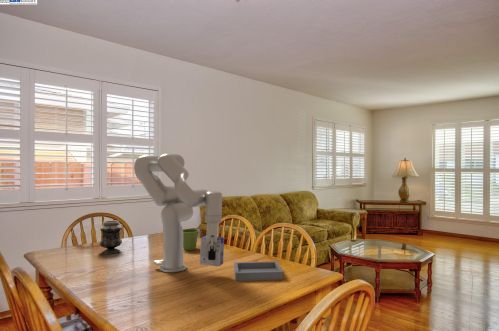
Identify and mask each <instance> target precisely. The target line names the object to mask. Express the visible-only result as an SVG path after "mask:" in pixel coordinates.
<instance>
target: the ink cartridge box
mask: <svg viewBox="0 0 499 331" xmlns="http://www.w3.org/2000/svg"><path fill="white" fill-rule="evenodd" d="M214 243H215V241H214ZM214 243H213V244H214ZM210 244H211V243H210ZM224 246H225V237H221V236H218V239H217V244H216V245H215V251H216V254H215V260H208V251H209V244H206V235H205V236H202V237H201V238H200V250H199V251H200V252H199V265H202V266H211V267H212V266H213V267H221V266H222V265H224V253H225V252H224V249H225V248H224Z"/></svg>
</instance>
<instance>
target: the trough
mask: <svg viewBox="0 0 499 331" xmlns="http://www.w3.org/2000/svg"><path fill="white" fill-rule="evenodd" d="M233 271H234V272H233V273H234V281H235V282H247V281H249V282H251V281H278V280H284V271H283V269H282V267H281V265H280V263H279V262H278V260H277V261H273V260H272V261H239V262H238V261H236V262H235V261H234V262H233Z"/></svg>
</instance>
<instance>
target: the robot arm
mask: <svg viewBox="0 0 499 331" xmlns="http://www.w3.org/2000/svg"><path fill="white" fill-rule="evenodd" d="M133 170H134V174H135V177H136V178H137V180H138V181H139V182H140V184H142V186H143V187H144V190H146V192H147V193H148V195H149V196H150V197H151V199H152V201H153V202H154V204H156V206H158V207H163V208H162V209H161V212H160V217H161V218H160V219H161V224H162V231H163V232H162V233H163V234H162V236H163V237H162V238H163V241H162V242H163V247H162V248H163V249H162V250H163V259H161V260H157V259H155V260H154V262H153V265H155V266H160V267H159V270H160V271H161V272H164V273H179V272H182V271H184V270H186V269H187V264H186V263H184V248H183V227H182V224H181V222H186V221H189V220H190V219H192V217H193V216H194V208H197V207H202V206H205V207H204V208H205V210H204V211H205V212H204V222H205V223H206V235H205V236H206V244H209V251H208V260H215V254H216V251H215V245H216V244H217V239H218V237H219V226H220V223H222V217H223V216H222V215H223V214H222V212H223V211H222V210H223V193H222V192H220V191H216V190H214V191H213V190H211V191H210V190H207V189H195V190H193V189H192V188H191V187H190V186H189V185H188V184H187V182H186V181H187V179H188V178H189V174H190V173H189V171H188V170H187V169H186V168H185V159H184V157H183V156H182V155H181V154H178V153H163V154H161V155H157V154H156V155H155V154H151V155H149V154H148V155H147V154H146V155H141V156H139V157H137V158H136V160H135V161H134V166H133ZM154 172H155V173H157V172H158V173H159V172H163V173H164V174H165V175H166V176H167V177H168V178H169V179H170V180H171V182H172V183H173V184H174V186H170V185H169V186H168V185H167V186H166V185H165V184H164V183H163V182H162V180H161V178H160V177H159V176H157V175H156V174H155V173H154ZM214 241H215V243H214ZM210 243H211V244H210ZM213 243H214V244H213Z"/></svg>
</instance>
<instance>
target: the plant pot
mask: <svg viewBox="0 0 499 331" xmlns="http://www.w3.org/2000/svg"><path fill="white" fill-rule="evenodd" d="M182 229H183V228H182ZM199 232H200V229H198V228H185V229H183V251H194V250H196V249H197V242H198V235H199Z"/></svg>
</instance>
